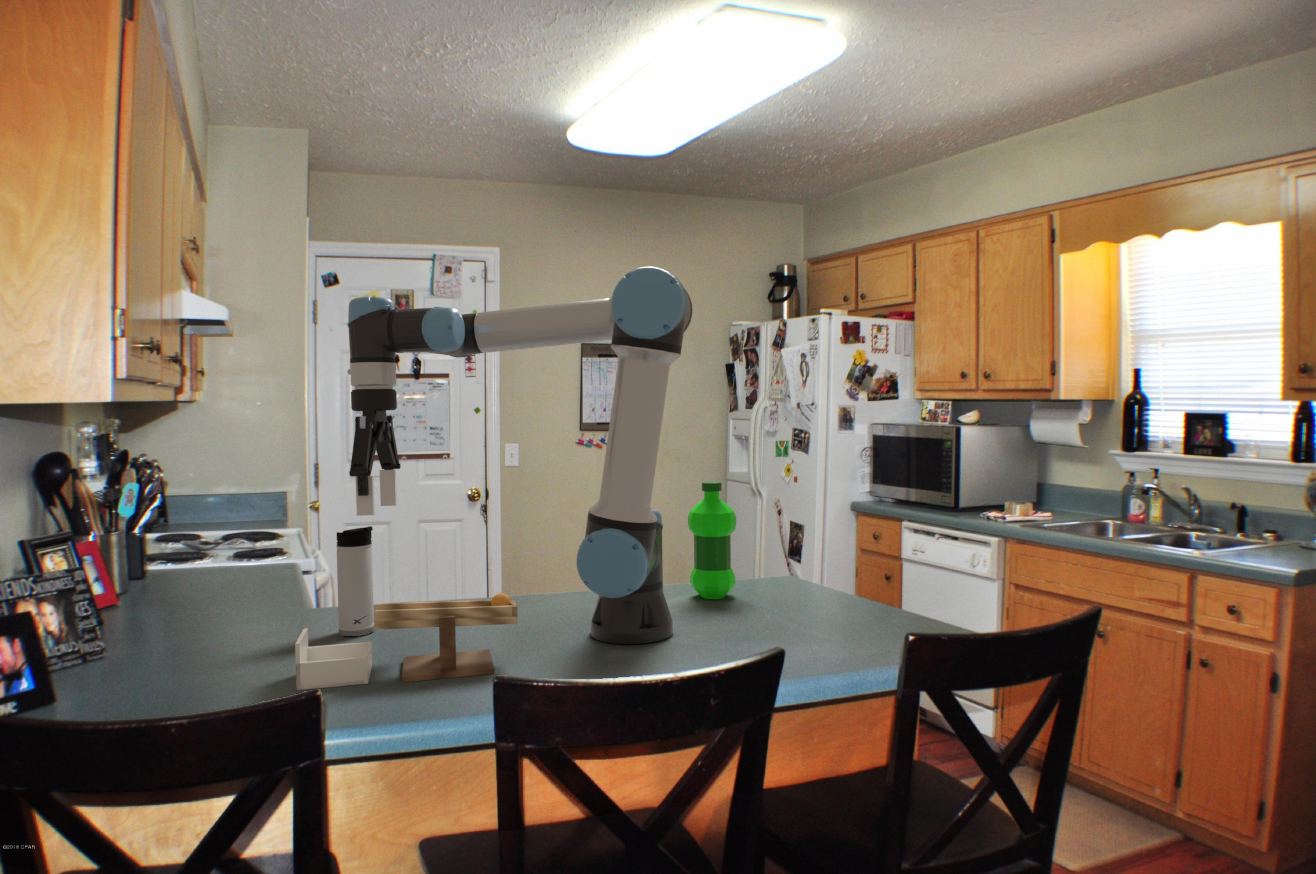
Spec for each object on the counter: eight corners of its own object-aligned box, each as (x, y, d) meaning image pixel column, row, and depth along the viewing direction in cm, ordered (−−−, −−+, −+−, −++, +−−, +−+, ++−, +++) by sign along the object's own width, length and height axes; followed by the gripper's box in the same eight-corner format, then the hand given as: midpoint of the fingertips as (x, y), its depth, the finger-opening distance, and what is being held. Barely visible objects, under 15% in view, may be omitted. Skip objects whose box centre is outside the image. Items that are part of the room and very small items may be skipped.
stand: (489, 654, 145) (488, 600, 145) (494, 673, 134) (493, 615, 134) (403, 661, 141) (402, 606, 141) (401, 682, 131) (400, 622, 130)
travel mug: (364, 638, 156) (361, 529, 155) (332, 636, 157) (329, 528, 157) (382, 629, 162) (379, 524, 161) (350, 627, 164) (348, 524, 163)
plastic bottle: (691, 591, 192) (689, 480, 191) (738, 591, 190) (736, 480, 189) (686, 601, 182) (684, 484, 181) (735, 602, 180) (734, 484, 179)
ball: (509, 615, 141) (517, 597, 141) (500, 616, 138) (508, 597, 138) (493, 608, 142) (501, 590, 142) (484, 608, 139) (492, 589, 139)
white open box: (371, 665, 139) (370, 623, 139) (368, 683, 130) (366, 638, 130) (304, 671, 137) (303, 628, 136) (296, 690, 128) (295, 643, 127)
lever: (510, 606, 150) (510, 590, 150) (517, 623, 138) (517, 606, 137) (378, 611, 144) (378, 594, 144) (373, 629, 132) (374, 611, 132)
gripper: (373, 389, 160) (377, 502, 161) (326, 387, 135) (330, 520, 136) (413, 389, 160) (417, 501, 161) (373, 386, 135) (378, 519, 136)
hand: (377, 510), depth 148 cm, fingers open, 13 cm apart
